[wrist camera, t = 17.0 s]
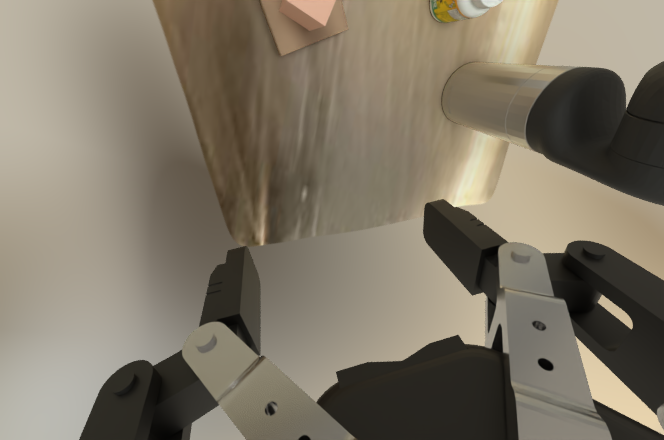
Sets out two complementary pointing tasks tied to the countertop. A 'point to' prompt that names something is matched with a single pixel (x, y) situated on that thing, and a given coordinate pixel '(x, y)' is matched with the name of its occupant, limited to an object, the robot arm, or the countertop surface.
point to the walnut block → (300, 27)
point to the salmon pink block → (308, 12)
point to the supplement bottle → (460, 9)
